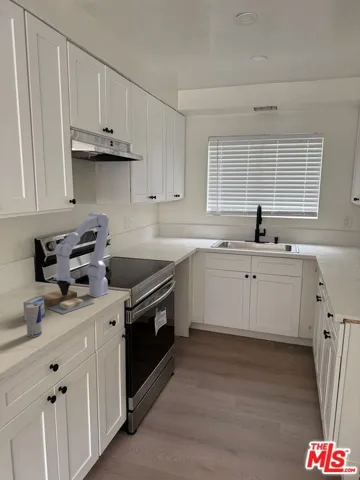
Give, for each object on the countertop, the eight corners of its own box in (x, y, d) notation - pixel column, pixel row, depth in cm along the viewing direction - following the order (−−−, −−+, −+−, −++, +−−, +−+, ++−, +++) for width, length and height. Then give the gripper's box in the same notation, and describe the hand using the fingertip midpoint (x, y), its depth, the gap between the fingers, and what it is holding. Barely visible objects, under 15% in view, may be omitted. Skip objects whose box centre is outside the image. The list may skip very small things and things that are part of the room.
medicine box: (33, 322, 142) (31, 302, 140) (24, 320, 143) (23, 301, 142) (45, 315, 149) (44, 297, 148) (36, 314, 151) (35, 296, 149)
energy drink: (45, 332, 132) (43, 303, 130) (36, 338, 127) (34, 308, 125) (33, 330, 134) (31, 302, 132) (24, 336, 129) (22, 307, 127)
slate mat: (78, 298, 172) (78, 297, 172) (94, 303, 165) (94, 302, 165) (47, 308, 158) (47, 307, 158) (62, 314, 151) (62, 313, 151)
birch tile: (83, 300, 162) (83, 304, 163) (75, 297, 166) (75, 301, 166) (67, 305, 155) (67, 309, 156) (59, 302, 159) (60, 306, 159)
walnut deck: (65, 294, 177) (65, 288, 177) (77, 298, 171) (76, 292, 171) (37, 303, 164) (37, 296, 164) (49, 307, 158) (49, 300, 158)
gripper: (47, 267, 162) (48, 294, 165) (65, 272, 154) (66, 300, 156) (60, 265, 168) (61, 290, 170) (78, 269, 160) (79, 296, 162)
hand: (64, 295), depth 164 cm, fingers closed
